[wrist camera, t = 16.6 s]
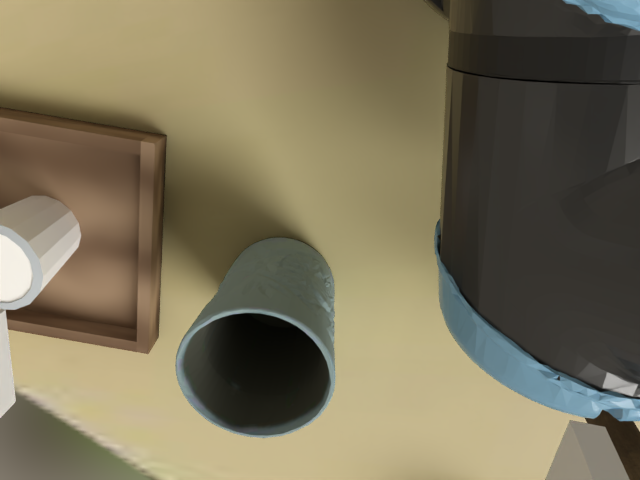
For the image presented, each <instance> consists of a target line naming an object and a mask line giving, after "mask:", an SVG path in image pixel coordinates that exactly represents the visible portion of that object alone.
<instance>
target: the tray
mask: <svg viewBox="0 0 640 480" xmlns="http://www.w3.org/2000/svg"><path fill="white" fill-rule="evenodd" d="M166 137H167V135H161V134H155V133H149V132H144V131H138V130H132V129H126V128H120V127H114V126H108V125H102V124H96V123H91V122H85V121H79V120H73V119H67V118H61V117H55V116H49V115H43V114H38V113H32V112H26V111H20V110H14V109H8V108H2V107H0V209H2V208H4V207H6V206H9V205H11V204H13V203H16V202H18V201H21V200H23V199H25V198H28V197H30V196H48V197H50V198H53V199H56V200H58V201H60V202H61V203H62V204H64V205H65V206H66V207H67V208H69V209H70V210H71V211H72V213H73V215H74V216H75V218H76V219H77V221H78V223H79V227H80V232H81V238H80V243H79V247H78V248H77V249H76V251H75V252H74V253H73V254H72V255H71V256H70V258H69V259H68V260H67V261H66V262H65V264H64V265H63V266H62V267H61V268H60V269H59V271H58V272H57V273H56V274H55V275H54V277H53V278H52V279H51V280H50V281H49V283H48V284H47V285H46V286H45V287H44V288H43V290H42V291H41V292H40V293H39V294H38V295H37V297H36V298H35V299H34V300H33V301H32V302H31V303H30V304H29V305H26V306H24V307H21V308H18V309H16V310H6V318H7V327H8V329H9V330H14V331H20V332H26V333H32V334H37V335H43V336H49V337H54V338H60V339H66V340H71V341H77V342H83V343H89V344H94V345H100V346H106V347H111V348H117V349H123V350H128V351H134V352H140V353H146V354H149V352H150V350H151V349H152V347H153V345H154V344H155V342H156V341H157V339H158V337H159V313H160V288H161V263H162V238H163V212H164V187H165V162H166Z"/></svg>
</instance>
